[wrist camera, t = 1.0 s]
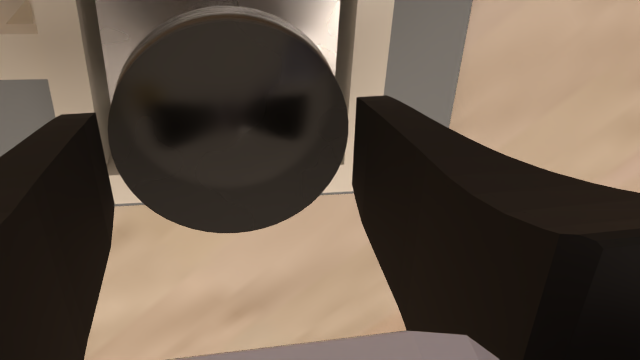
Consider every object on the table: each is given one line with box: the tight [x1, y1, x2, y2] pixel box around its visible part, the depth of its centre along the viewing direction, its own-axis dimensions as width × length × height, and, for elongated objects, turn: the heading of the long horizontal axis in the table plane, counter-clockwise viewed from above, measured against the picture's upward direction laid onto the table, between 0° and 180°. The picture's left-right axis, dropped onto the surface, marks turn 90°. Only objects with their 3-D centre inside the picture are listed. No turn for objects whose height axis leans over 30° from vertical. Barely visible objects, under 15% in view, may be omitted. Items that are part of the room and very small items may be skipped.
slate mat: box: [0, 0, 473, 206], centre depth 20 cm, size 18×16×1 cm
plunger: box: [95, 0, 349, 233], centre depth 14 cm, size 6×6×6 cm
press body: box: [0, 0, 395, 204], centre depth 18 cm, size 11×9×5 cm
